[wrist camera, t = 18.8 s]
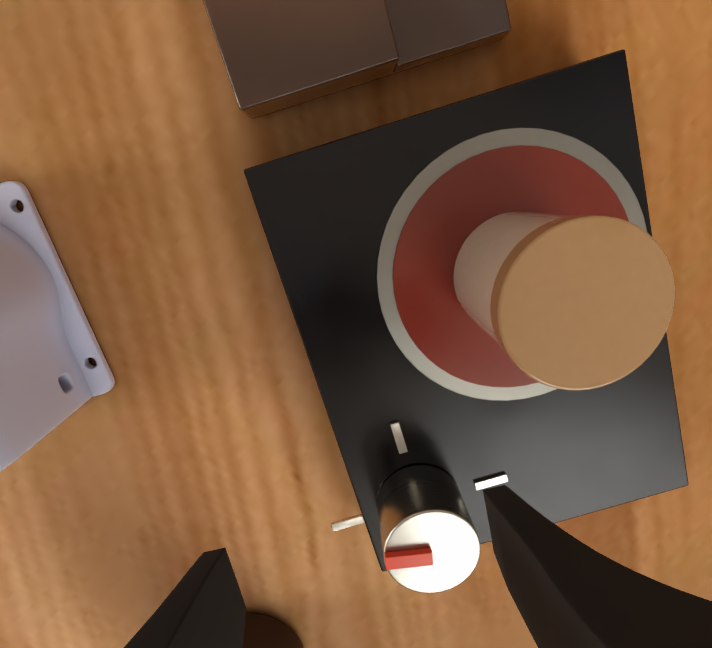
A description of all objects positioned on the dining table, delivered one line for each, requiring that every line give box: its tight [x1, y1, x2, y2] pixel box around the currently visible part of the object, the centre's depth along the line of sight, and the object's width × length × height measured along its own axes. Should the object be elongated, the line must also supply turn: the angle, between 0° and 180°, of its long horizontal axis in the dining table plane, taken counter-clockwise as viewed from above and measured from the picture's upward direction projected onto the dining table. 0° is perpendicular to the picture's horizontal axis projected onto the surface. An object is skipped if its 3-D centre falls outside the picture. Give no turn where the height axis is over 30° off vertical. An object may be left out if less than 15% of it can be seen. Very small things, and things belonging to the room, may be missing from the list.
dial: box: [377, 465, 480, 593], centre depth 20 cm, size 4×4×4 cm
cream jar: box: [454, 211, 675, 390], centre depth 16 cm, size 5×5×6 cm
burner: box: [376, 128, 647, 401], centre depth 19 cm, size 10×10×1 cm
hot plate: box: [244, 50, 688, 571], centre depth 22 cm, size 19×15×3 cm
